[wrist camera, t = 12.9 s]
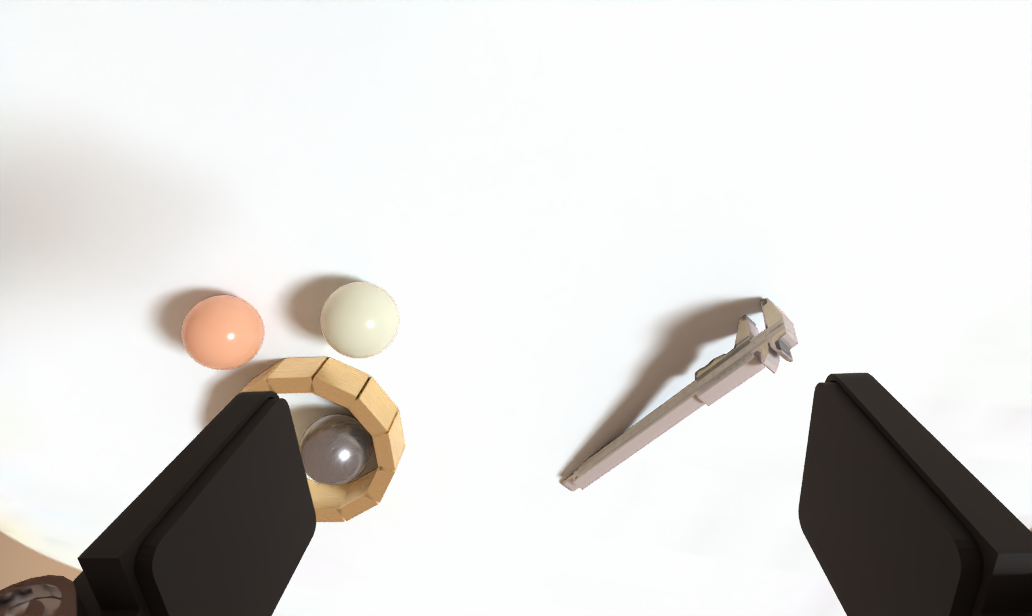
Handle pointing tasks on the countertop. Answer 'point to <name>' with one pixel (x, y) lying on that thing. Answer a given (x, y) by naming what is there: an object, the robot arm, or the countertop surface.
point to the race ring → (365, 405)
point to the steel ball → (335, 449)
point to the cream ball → (359, 320)
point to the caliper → (699, 390)
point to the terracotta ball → (222, 332)
